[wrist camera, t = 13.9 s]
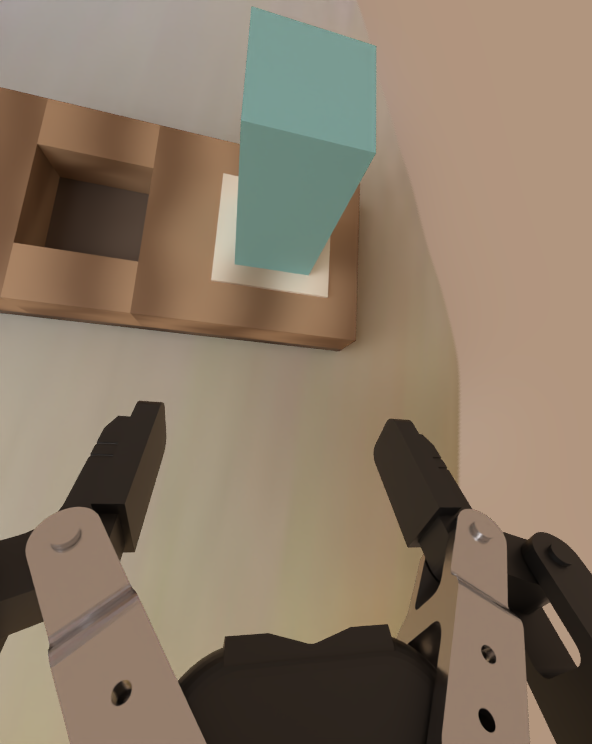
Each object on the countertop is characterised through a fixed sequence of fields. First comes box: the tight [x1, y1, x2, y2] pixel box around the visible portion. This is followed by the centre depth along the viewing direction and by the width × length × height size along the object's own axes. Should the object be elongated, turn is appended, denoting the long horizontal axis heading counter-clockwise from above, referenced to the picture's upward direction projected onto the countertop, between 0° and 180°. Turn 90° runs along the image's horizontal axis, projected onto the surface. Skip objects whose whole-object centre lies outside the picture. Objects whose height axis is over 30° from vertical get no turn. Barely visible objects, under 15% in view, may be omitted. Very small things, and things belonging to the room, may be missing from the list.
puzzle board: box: [0, 87, 360, 351], centre depth 20 cm, size 22×12×3 cm, turn 86°
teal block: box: [235, 7, 376, 275], centre depth 15 cm, size 4×4×9 cm
